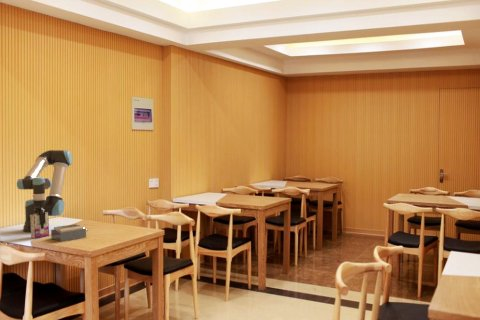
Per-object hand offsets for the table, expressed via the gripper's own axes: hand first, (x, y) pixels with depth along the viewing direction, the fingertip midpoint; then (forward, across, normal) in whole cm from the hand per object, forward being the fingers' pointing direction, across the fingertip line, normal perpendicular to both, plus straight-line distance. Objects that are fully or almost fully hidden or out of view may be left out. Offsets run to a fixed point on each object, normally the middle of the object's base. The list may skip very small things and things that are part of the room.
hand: (39, 232), depth 317 cm
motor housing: (+3, +18, +15) cm, 23 cm away
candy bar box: (+3, 0, 0) cm, 3 cm away
